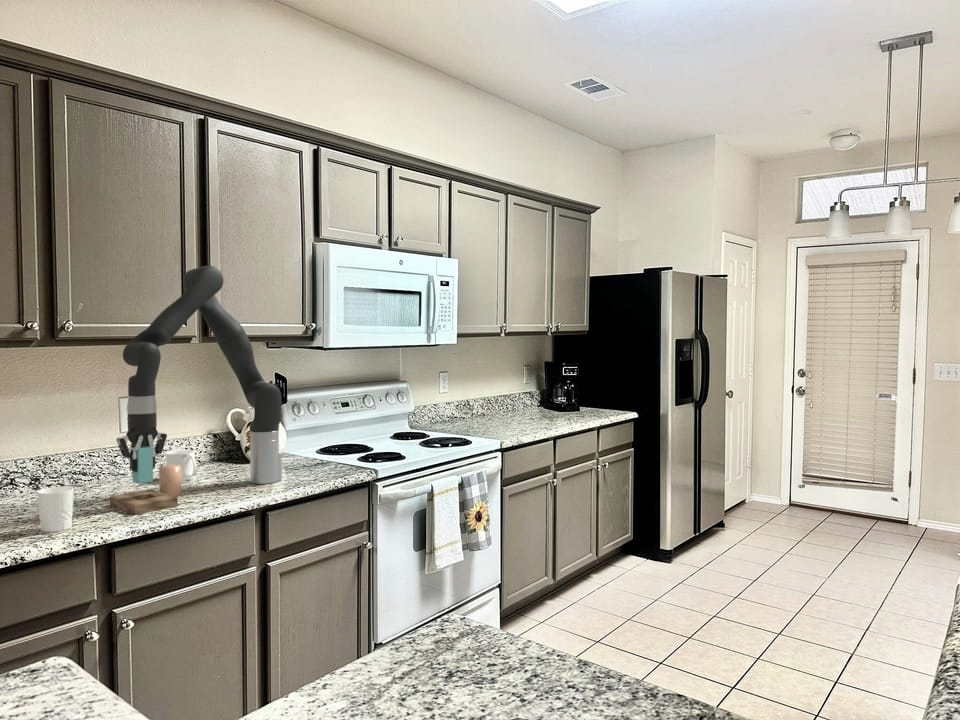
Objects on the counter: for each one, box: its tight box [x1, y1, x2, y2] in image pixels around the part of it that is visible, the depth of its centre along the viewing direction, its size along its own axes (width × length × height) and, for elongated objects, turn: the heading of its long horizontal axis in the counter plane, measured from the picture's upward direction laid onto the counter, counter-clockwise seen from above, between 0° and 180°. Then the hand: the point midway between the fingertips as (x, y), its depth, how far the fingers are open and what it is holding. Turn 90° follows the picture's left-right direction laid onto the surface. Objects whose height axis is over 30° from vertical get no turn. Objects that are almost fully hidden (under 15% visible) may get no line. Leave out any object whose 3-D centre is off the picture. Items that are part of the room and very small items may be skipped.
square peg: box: [131, 446, 154, 484], centre depth 199 cm, size 4×4×10 cm
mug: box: [165, 449, 198, 482], centre depth 235 cm, size 12×9×9 cm
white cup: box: [36, 486, 74, 533], centre depth 176 cm, size 8×8×10 cm
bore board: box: [109, 489, 179, 516], centre depth 200 cm, size 12×16×2 cm
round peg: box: [158, 464, 183, 497], centre depth 212 cm, size 6×6×9 cm
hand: (142, 470), depth 199 cm, fingers closed on square peg, 4 cm apart
